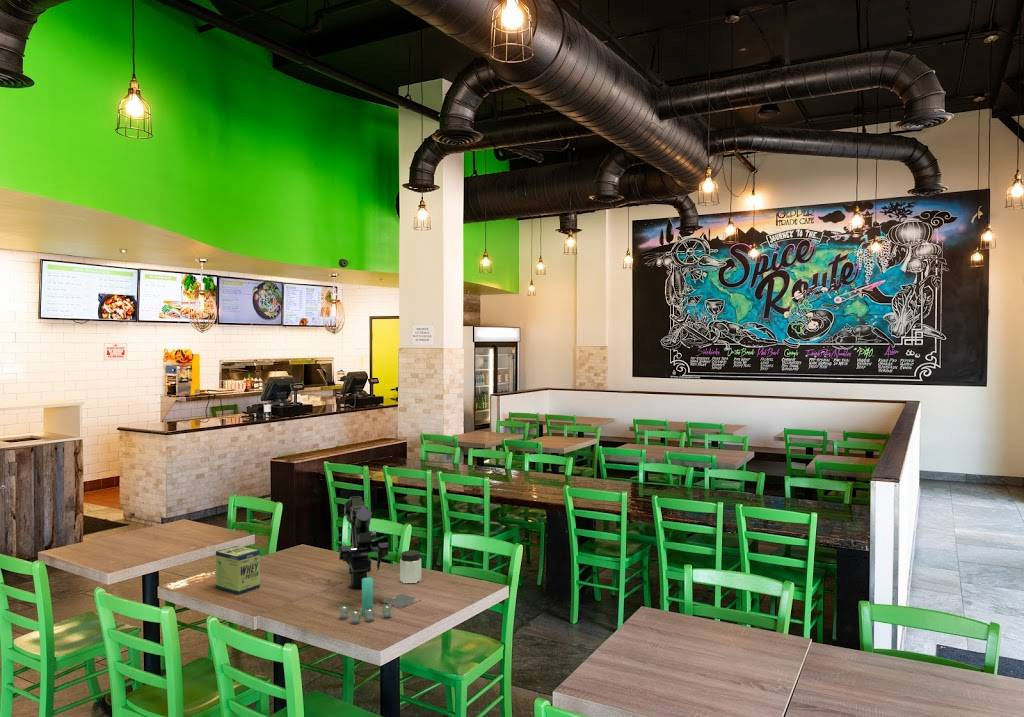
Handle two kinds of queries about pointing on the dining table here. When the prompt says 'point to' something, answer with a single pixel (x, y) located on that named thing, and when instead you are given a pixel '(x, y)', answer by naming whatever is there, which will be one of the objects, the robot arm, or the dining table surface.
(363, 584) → the teal dowel
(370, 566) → the robot arm
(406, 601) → the mat
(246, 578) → the protein box
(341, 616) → the spacer posts
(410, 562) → the jar
